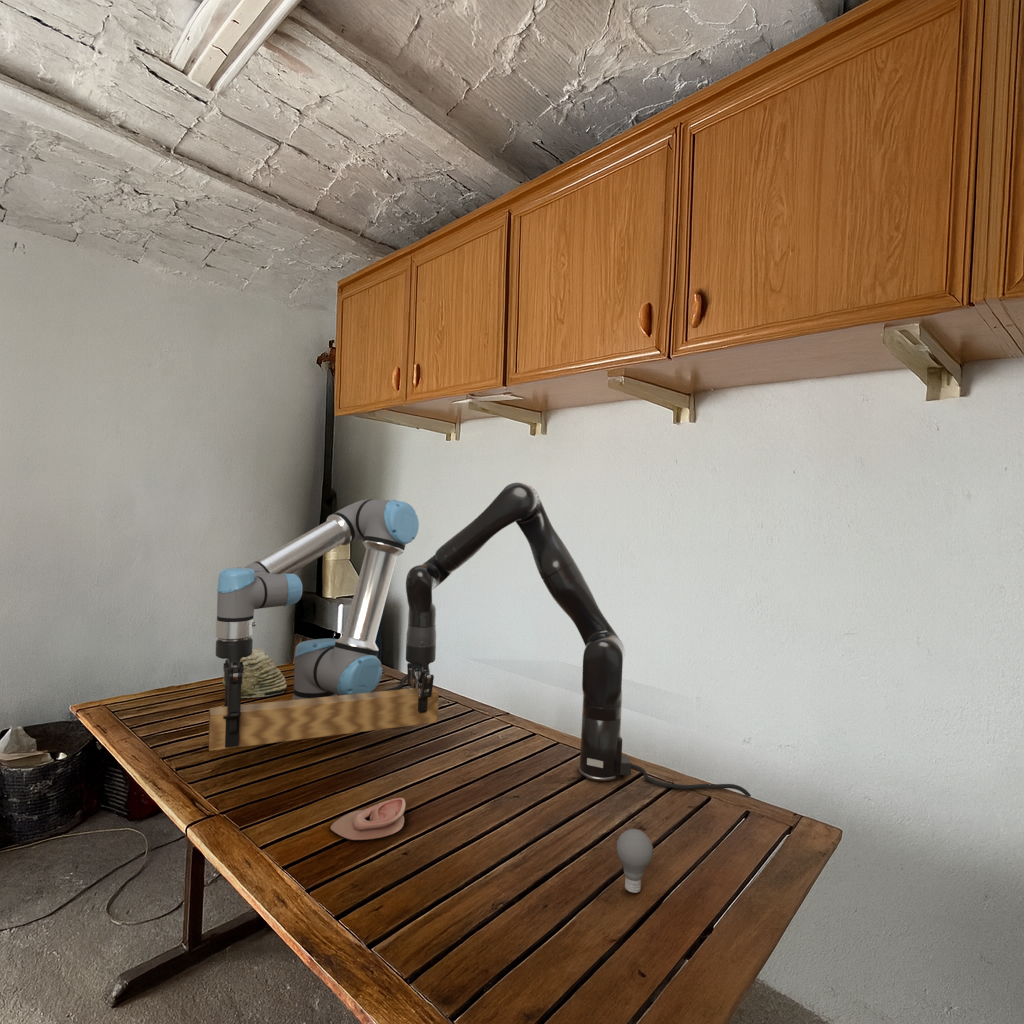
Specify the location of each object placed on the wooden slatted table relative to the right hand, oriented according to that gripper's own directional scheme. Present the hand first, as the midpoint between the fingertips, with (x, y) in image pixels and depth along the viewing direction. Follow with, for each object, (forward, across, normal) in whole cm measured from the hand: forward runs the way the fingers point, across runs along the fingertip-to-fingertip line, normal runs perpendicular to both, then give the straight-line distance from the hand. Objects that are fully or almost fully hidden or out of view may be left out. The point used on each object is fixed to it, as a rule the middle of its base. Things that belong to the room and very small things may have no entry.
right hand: (418, 708), depth 162 cm
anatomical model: (+10, -33, +21) cm, 41 cm away
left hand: (+2, 0, +44) cm, 44 cm away
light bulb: (+10, -70, -14) cm, 72 cm away
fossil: (+10, +58, +34) cm, 68 cm away
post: (+3, 0, +22) cm, 22 cm away
